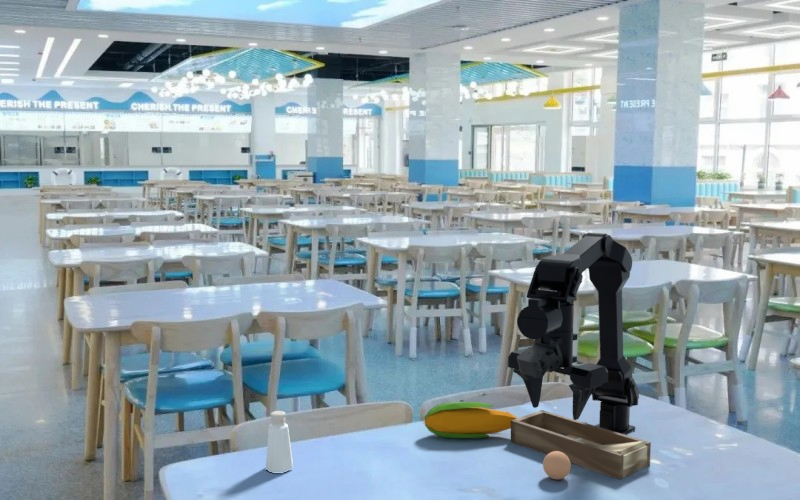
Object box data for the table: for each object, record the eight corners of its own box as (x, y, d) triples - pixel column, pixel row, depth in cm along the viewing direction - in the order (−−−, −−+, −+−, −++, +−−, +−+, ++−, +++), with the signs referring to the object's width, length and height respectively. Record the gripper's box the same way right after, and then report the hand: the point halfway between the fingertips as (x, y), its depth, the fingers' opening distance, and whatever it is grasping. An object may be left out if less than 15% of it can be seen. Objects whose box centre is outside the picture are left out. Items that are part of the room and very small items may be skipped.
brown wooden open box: (541, 430, 175) (542, 408, 175) (649, 465, 156) (650, 440, 155) (510, 441, 169) (510, 418, 168) (619, 479, 149) (620, 453, 149)
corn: (423, 395, 175) (517, 394, 175) (423, 429, 176) (516, 428, 176) (425, 409, 167) (523, 408, 168) (425, 444, 169) (522, 443, 169)
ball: (554, 470, 153) (554, 445, 153) (576, 478, 150) (576, 452, 149) (537, 478, 150) (537, 451, 150) (559, 486, 146) (559, 459, 146)
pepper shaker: (298, 465, 157) (297, 409, 156) (285, 476, 152) (284, 418, 151) (273, 461, 159) (271, 406, 157) (259, 472, 154) (258, 415, 152)
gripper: (487, 326, 149) (486, 410, 151) (570, 345, 135) (568, 436, 137) (528, 318, 156) (526, 398, 158) (611, 334, 142) (608, 422, 144)
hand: (555, 413), depth 149 cm, fingers open, 9 cm apart
